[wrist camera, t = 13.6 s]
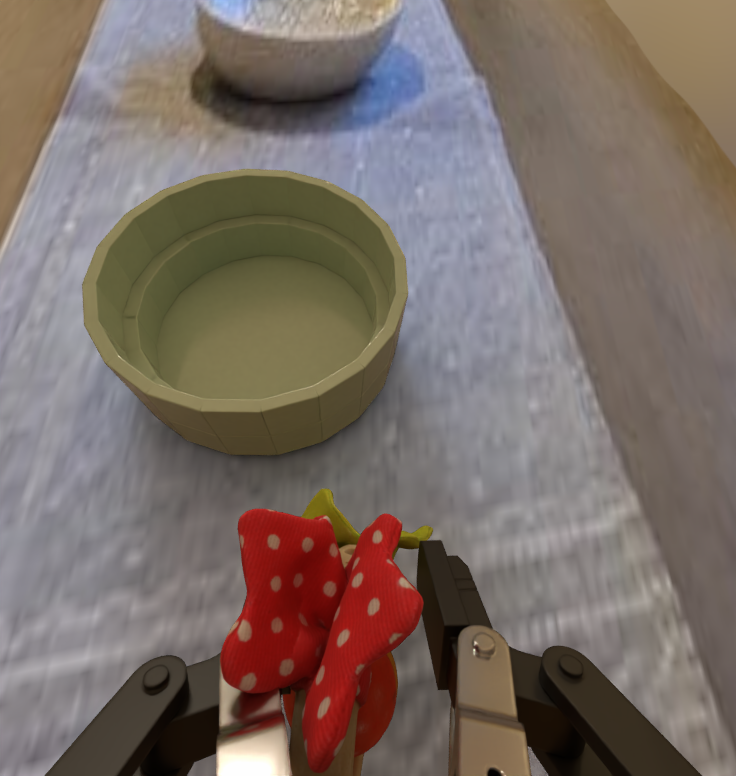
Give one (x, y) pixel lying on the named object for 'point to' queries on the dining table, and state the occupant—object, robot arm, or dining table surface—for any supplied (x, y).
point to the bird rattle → (323, 627)
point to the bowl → (249, 308)
